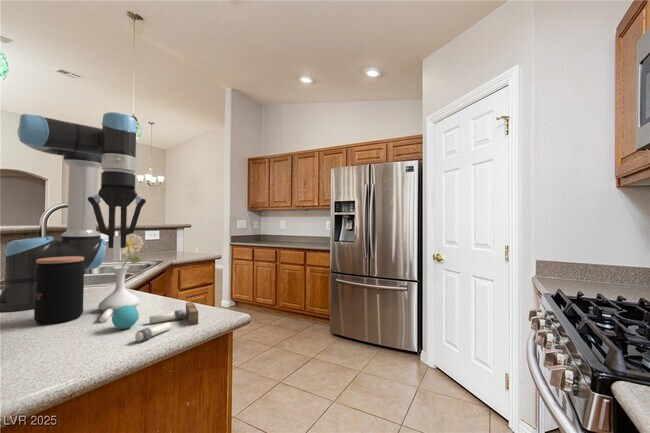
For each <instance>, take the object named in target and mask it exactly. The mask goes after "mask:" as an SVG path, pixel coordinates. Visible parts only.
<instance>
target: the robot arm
mask: <svg viewBox="0 0 650 433" xmlns="http://www.w3.org/2000/svg"><path fill="white" fill-rule="evenodd" d="M18 123H19V125H18V128H17V136H18V139H19V141H20V142H21V143H22V144H24V145H25V146H27V147H29V148H31V149H33V150H35V151H39V152H42V153H46V154H49V155H50V154H51V155H55V156H56V155H57V156H62V157H63V162H64V164H66V165H67V166H68V184H67V185H68V187H67V188H68V190H67V215H66V216H67V220H66V221H67V222H66V231H64V232H63V233H61V236H60V239H59V240H58V239H55V238H54V237H53V236H39V237H31V238H23V239H17V240H12V241H9V242H7V244H6V246H5V254H4V257H5V259H4V260H5V263H4V266H5V267H4V283H3V284H4V285H3V288H2V290H1V292H0V312H17V311H26V310H27V311H28V310H34V308H35V272H36V268H37V267H38V264H37V263H36V260H37V259H41V258H51V257H68V256H81V257H84V260H83V261H82V264H83V265H84V271H87V270H94V269H98V268H99V267H101V265H102V264H103V262H104V260H105V257H106V256H105V255H106V249H107V247H108V249H113V252H112V254H113V256H112V257H113V258H112V262H120V261H122V255H121V248H125V247H126V236H127V235H129V234H133V233H134V232H135V229H136V227H137V223H138V220H139V218H140V214H141V210H142V207H143V206H144V205H145V204H146V202H147V201H146V199H145V198H142V197H140V196H139V195H138V193H137V191H136V174H135V173H136V167H137V166H136V165H137V164H136V163H137V162H136V161H137V156H136V154H137V152H136V151H137V133H138V131H137V120H136V119H135V118H134V117H133V116H130V115H128V114H124V113H121V112H114V111H113V112H105V113H104V114H103V115H102V122H101V125H102V126H101V127H96V126H90V125H86V124H79V123H76V122H75V123H74V122H69V121H64V120H59V119H56V118H50V117H45V116H43V115H42V116H41V115H34V114H27V113H25V114H24V113H23V114H21V115H20V116H19V122H18ZM99 169H101V170H102V172H100V173H101V174H100V176H101V177H100V189H98V180H99V179H98V178H99ZM101 199H102V201H104V203H105V204H106V205H107V206H108V226H107V227H108V229H107V227H106V222H105V221H104V220H105V219H104V217H103V213H102V208H101V205H100V203H101ZM134 201H135V204H136V206H135V209H134V211H133V216H132V219H131V222H130V225H129V228H128V227H127V226H128V225H127V222H128V221H127V220H128V219H127V218H128V217H127V216H128V207H129V206H130V205H131V204H132V203H133V202H134ZM117 207H119V208H120V235H116V209H117ZM97 226H98V231H99V232H98V231H97ZM127 228H128V229H127ZM101 234H103V235H106V236H107V238H108V239H107V240H108V241H106V239H104V238H101ZM107 242H108V243H107ZM106 244H108V246H106Z"/></svg>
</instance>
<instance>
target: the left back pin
mask: <svg viewBox="0 0 650 433" xmlns="http://www.w3.org/2000/svg"><path fill="white" fill-rule="evenodd" d="M114 312H115V307H114V306H108V307H106V309H105V310H103V313H102V314H101V316H99V322H100V323H106V322H108V320H109V319H110V317H111V316H113V314H114Z"/></svg>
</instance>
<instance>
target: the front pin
mask: <svg viewBox="0 0 650 433" xmlns="http://www.w3.org/2000/svg"><path fill="white" fill-rule="evenodd" d="M184 318H186V309H179V310H174V311H173V312H167V313H162V314H157V315H156V314H155V315H151V316H149V318H148V319H149V324H150V325H151V324H157V323H162V322H166V321H167V322H169V321H172V320H176V321H177V320H183V319H184Z"/></svg>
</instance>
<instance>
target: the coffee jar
mask: <svg viewBox="0 0 650 433" xmlns="http://www.w3.org/2000/svg"><path fill="white" fill-rule="evenodd" d="M83 260H84V257H81V256H68V257H51V258H41V259H37V260H36V263H37V264H38V267H37V268H36V272H35V308H34V309H33V310H34V313H33V314H34V316H33V317H34V318H33V319H34V321H35V322H36V323H37V324H38V325H40V326H41V325H42V326H48V325H49V326H50V325H57V324H58V325H60V324H64V323H69V322H72V321H75V320H77V319H79V318H81V316H82V315H83V312H84V288H85V287H84V285H85V282H84V281H85V270H84V265H83V264H82V261H83Z"/></svg>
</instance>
